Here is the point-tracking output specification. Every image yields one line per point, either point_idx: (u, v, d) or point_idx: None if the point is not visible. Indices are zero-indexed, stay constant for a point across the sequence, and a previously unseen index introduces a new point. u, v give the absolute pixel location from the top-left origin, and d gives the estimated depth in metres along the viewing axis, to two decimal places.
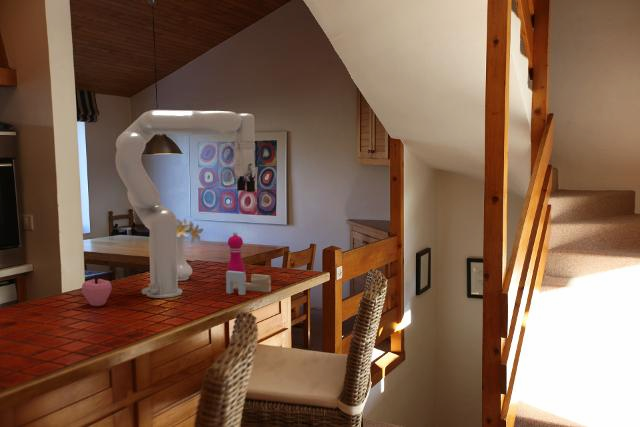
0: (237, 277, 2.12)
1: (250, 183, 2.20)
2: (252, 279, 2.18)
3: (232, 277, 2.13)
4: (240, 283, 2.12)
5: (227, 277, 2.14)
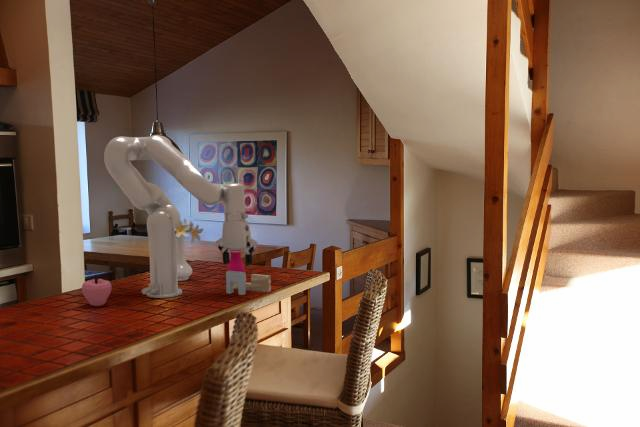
0: (237, 277, 2.12)
1: None
2: (252, 279, 2.18)
3: (232, 277, 2.13)
4: (240, 283, 2.12)
5: (227, 277, 2.14)
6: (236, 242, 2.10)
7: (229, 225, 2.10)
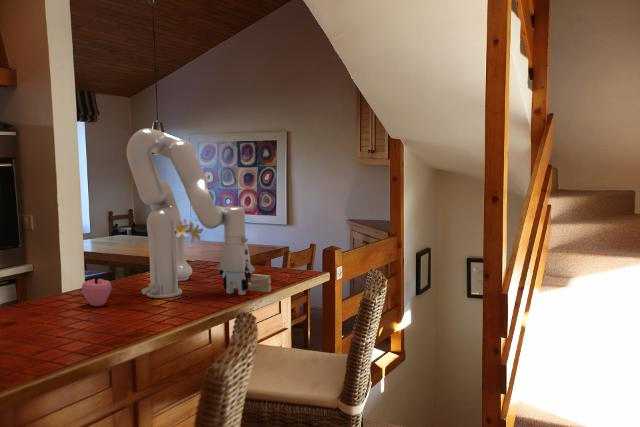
0: (237, 277, 2.12)
1: None
2: (252, 279, 2.18)
3: (232, 277, 2.13)
4: (240, 283, 2.12)
5: (227, 277, 2.14)
6: (235, 265, 2.10)
7: (229, 248, 2.11)
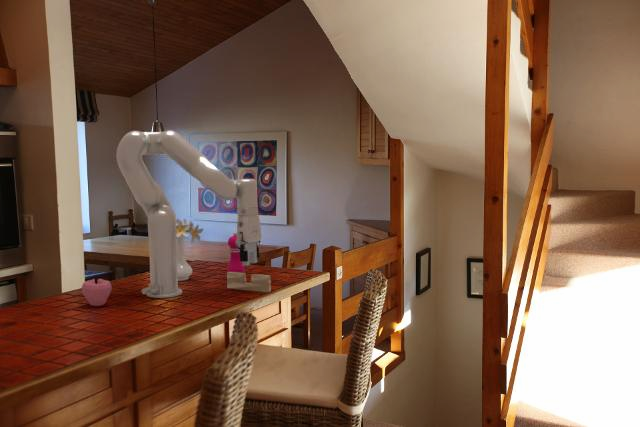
0: None
1: None
2: (252, 279, 2.18)
3: None
4: None
5: None
6: None
7: None
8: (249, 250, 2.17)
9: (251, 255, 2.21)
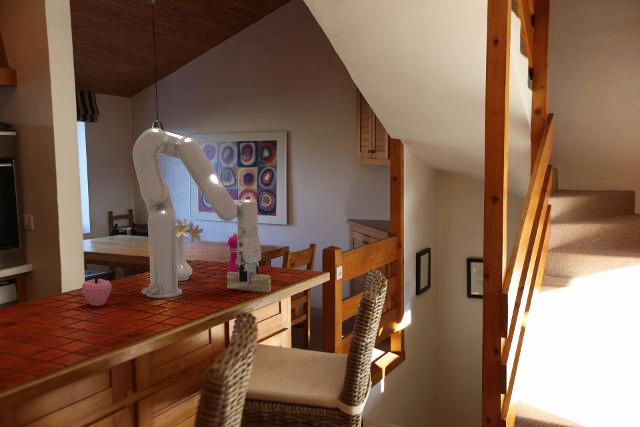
0: None
1: None
2: (252, 279, 2.18)
3: None
4: None
5: None
6: None
7: None
8: (249, 270, 2.18)
9: None
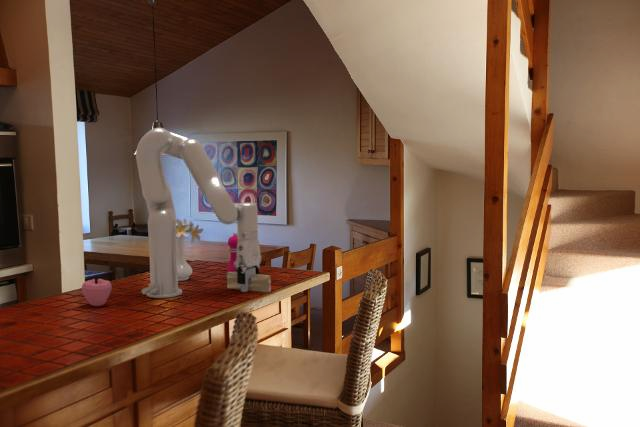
0: None
1: None
2: (252, 279, 2.18)
3: None
4: None
5: None
6: None
7: None
8: (248, 276, 2.18)
9: (250, 281, 2.21)
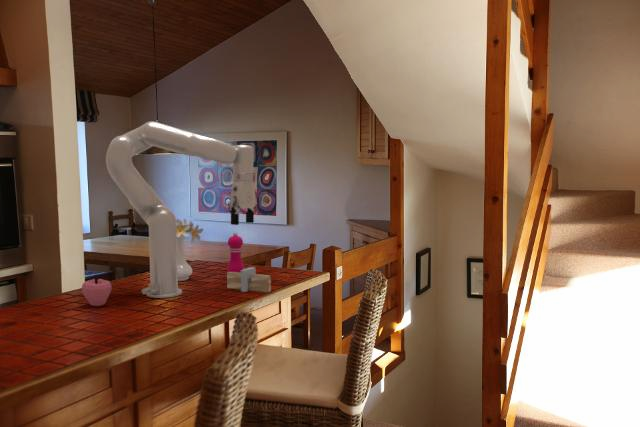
0: None
1: None
2: (252, 279, 2.18)
3: None
4: None
5: None
6: None
7: None
8: (248, 276, 2.18)
9: (250, 281, 2.21)
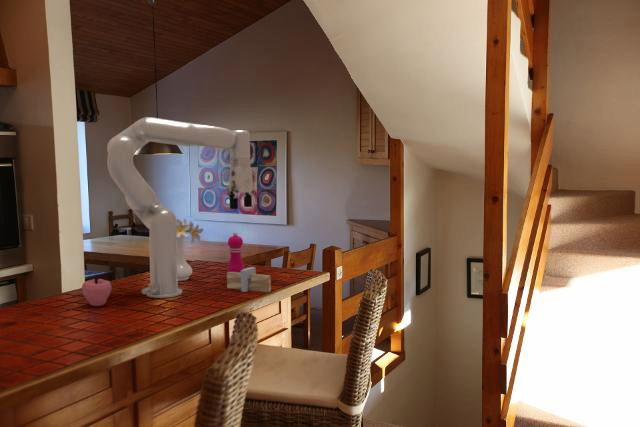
0: None
1: None
2: (252, 279, 2.18)
3: None
4: None
5: None
6: None
7: None
8: (248, 276, 2.18)
9: (250, 281, 2.21)
